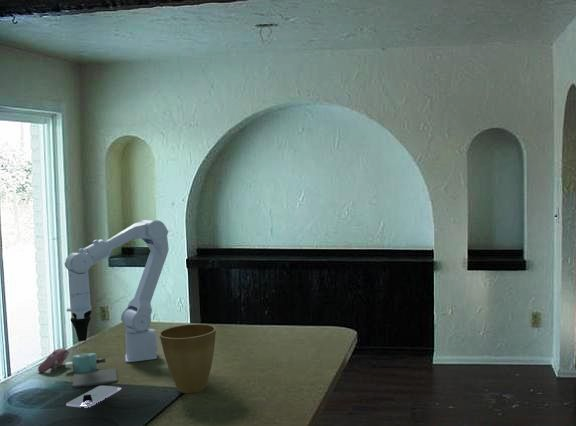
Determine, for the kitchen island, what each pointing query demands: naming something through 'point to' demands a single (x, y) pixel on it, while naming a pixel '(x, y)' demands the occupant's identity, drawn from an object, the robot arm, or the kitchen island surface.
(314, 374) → the kitchen island surface
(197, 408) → the kitchen island surface
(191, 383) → the plant pot
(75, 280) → the robot arm
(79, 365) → the plug
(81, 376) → the pad
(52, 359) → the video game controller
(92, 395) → the mobile phone
